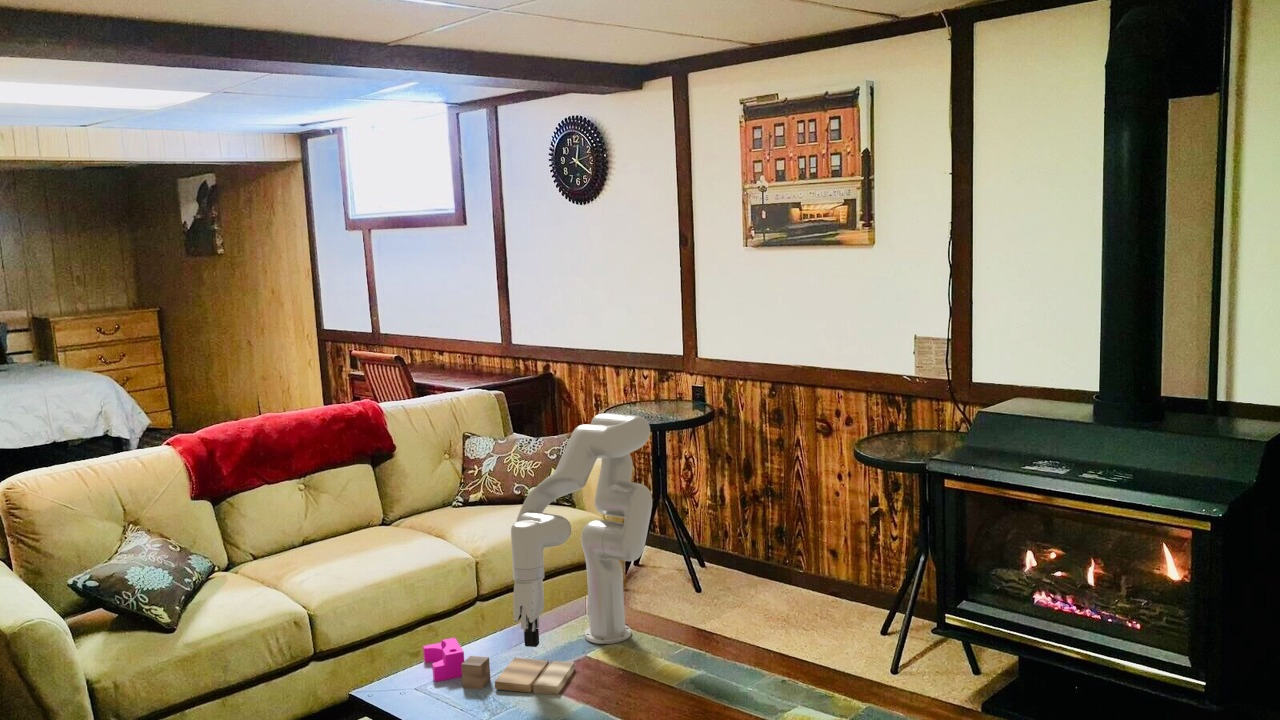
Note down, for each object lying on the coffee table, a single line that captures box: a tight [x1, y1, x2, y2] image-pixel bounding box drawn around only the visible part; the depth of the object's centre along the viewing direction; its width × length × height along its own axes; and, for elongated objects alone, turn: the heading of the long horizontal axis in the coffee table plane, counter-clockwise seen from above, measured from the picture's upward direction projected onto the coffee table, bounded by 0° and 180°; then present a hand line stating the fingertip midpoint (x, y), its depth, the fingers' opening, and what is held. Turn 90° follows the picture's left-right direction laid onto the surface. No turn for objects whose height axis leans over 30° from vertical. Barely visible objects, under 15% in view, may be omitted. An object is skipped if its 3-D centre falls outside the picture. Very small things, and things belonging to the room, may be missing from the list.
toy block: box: [422, 637, 465, 682], centre depth 261 cm, size 15×6×8 cm
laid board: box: [532, 660, 576, 696], centre depth 250 cm, size 14×6×2 cm, turn 167°
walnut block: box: [461, 655, 491, 690], centre depth 250 cm, size 5×5×6 cm
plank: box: [494, 657, 550, 693], centre depth 252 cm, size 14×9×2 cm, turn 167°
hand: (532, 645), depth 250 cm, fingers closed
